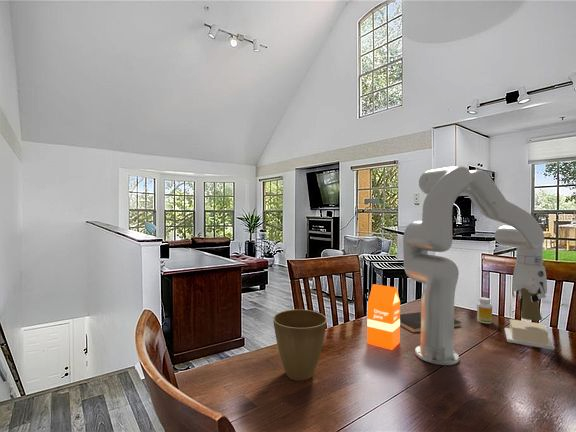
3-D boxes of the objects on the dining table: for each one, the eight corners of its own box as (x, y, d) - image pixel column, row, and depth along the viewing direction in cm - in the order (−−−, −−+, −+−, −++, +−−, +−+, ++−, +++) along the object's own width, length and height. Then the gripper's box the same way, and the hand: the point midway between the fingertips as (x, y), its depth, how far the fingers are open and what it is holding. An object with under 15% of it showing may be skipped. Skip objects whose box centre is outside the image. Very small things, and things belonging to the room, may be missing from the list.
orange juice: (392, 350, 108) (392, 289, 107) (366, 343, 113) (367, 285, 113) (400, 342, 114) (400, 285, 114) (375, 336, 119) (376, 282, 119)
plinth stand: (554, 349, 109) (554, 335, 109) (507, 341, 115) (507, 327, 115) (546, 336, 120) (547, 323, 120) (504, 330, 127) (504, 317, 126)
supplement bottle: (494, 324, 134) (495, 300, 133) (481, 323, 134) (482, 300, 134) (487, 319, 139) (487, 296, 139) (474, 319, 139) (474, 296, 139)
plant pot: (266, 366, 96) (266, 312, 95) (312, 359, 101) (312, 307, 101) (283, 393, 82) (283, 330, 81) (336, 382, 87) (336, 323, 87)
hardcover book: (461, 327, 131) (461, 322, 131) (413, 334, 124) (413, 328, 123) (432, 315, 146) (432, 310, 146) (388, 320, 139) (388, 315, 139)
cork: (535, 316, 119) (533, 285, 120) (546, 320, 113) (543, 288, 114) (517, 316, 120) (515, 285, 121) (526, 320, 114) (524, 287, 115)
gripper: (559, 263, 110) (558, 318, 110) (519, 257, 126) (519, 304, 126) (539, 264, 109) (538, 319, 109) (502, 257, 125) (501, 305, 125)
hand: (528, 311), depth 118 cm, fingers closed on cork
